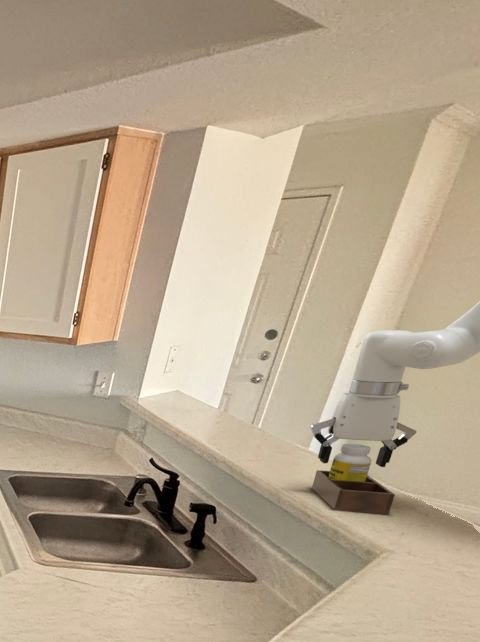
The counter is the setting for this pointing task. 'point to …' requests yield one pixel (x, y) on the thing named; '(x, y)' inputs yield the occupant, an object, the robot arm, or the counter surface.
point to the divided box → (353, 494)
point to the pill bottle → (351, 463)
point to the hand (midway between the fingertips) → (351, 463)
